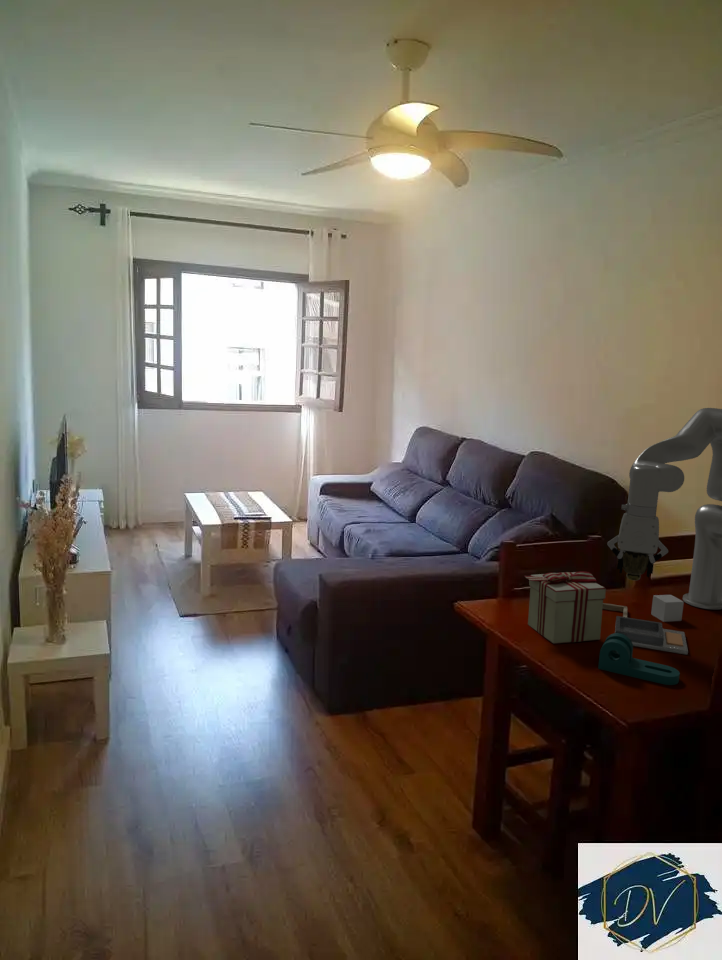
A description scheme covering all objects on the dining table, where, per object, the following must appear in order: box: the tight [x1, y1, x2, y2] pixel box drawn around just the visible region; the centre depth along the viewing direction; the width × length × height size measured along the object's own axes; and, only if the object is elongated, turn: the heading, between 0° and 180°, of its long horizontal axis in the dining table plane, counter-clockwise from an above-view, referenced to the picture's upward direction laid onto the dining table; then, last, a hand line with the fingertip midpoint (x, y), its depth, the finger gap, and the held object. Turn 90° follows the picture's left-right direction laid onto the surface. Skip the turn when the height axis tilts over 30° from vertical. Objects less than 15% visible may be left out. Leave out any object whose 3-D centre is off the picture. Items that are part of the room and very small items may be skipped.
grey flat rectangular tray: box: [614, 615, 689, 655], centre depth 196 cm, size 14×18×3 cm
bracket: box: [598, 632, 681, 686], centre depth 175 cm, size 18×7×8 cm, turn 61°
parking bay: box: [602, 602, 628, 618], centre depth 213 cm, size 12×12×2 cm
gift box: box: [524, 570, 607, 645], centre depth 198 cm, size 17×18×17 cm
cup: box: [622, 551, 649, 581], centre depth 198 cm, size 8×7×8 cm
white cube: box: [650, 594, 685, 623], centre depth 213 cm, size 6×6×6 cm
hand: (634, 573), depth 199 cm, fingers closed on cup, 6 cm apart
